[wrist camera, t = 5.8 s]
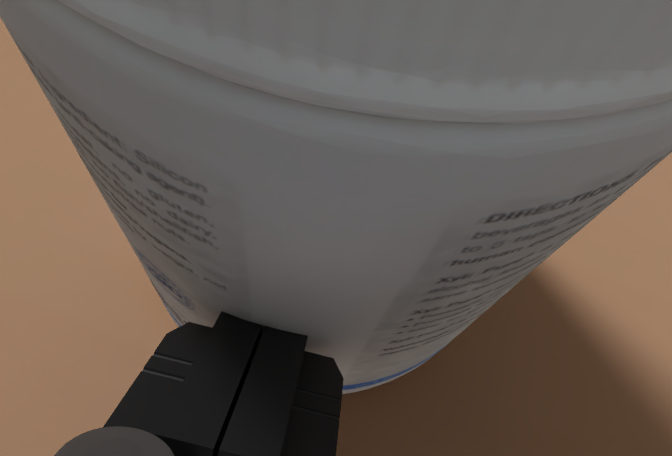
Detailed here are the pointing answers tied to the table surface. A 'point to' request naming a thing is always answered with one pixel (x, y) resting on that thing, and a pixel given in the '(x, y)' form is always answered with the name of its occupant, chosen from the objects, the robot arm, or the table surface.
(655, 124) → the supplement tub
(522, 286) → the table surface
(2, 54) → the table surface
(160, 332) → the table surface
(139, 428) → the robot arm
